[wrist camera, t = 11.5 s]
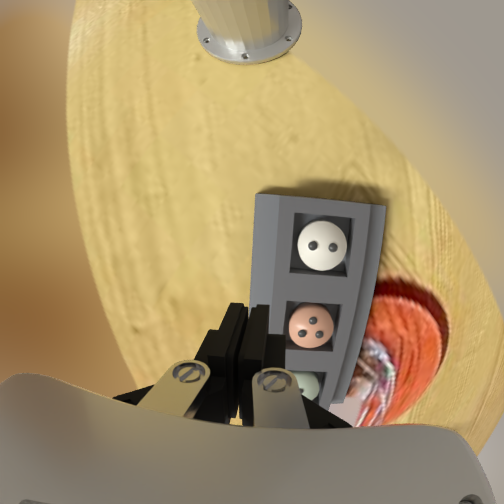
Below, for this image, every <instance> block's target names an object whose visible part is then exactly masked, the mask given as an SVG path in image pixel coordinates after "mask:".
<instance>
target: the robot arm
mask: <svg viewBox="0 0 504 504" xmlns="http://www.w3.org/2000/svg"><path fill="white" fill-rule="evenodd" d="M191 1H192V3H193V5H194V6H195V8H196V10H197V12H198V13H199V15H200V19H199V21H198V25H197V35H198V39H199V41H200V43H201V45H202V46H203V48H204V49H205V50H206V51H207V52H208V53H209V54H210V55H211V56H213V57H215V58H217V59H219V60H221V61H224V62H227V63H232V64H238V65H251V64H259V63H263V62H267V61H271V60H273V59H275V58H278V57H280V56H281V55H283V54H285V53H286V52H288V51H289V50H290V49H291V48H292V47H293V46H294V45H295V43H296V42H297V41H298V39H299V37H300V34H301V29H302V20H301V16H300V13H299V11H298V10H297V8H296V7H295V6H294V5H293V4H292V3H291V2H290V1H289V0H191ZM245 58H247V59H245ZM269 312H270V305H265V304H257V306H256V307H252V308H251V312H250V316H249V319H248V307H244V304H243V303H230V305H229V307H228V309H227V312H226V314H225V316H224V318H223V321H222V323H221V325H220V327H219V330H212V329H210V330H209V331H208V333H207V335H206V337H205V339H204V341H203V343H202V345H201V346H200V348H199V350H198V352H197V354H196V356H195V358H194V360H184V361H180V362H177V363H175V364H174V365H172V366H171V367H170V368H169V369H168V370H167V372H166V373H165V374H164V375H163V376H162V377H161V378H160V380H159V381H158V382H157V383H156V384H155V385H152V386H148V387H145V388H142V389H139V390H135V391H132V392H129V393H125V394H122V395H118V396H116V397H113V398H108V397H106V396H103V395H100V394H97V393H94V392H91V391H88V390H86V389H83V388H81V387H78V386H75V385H72V384H69V383H66V382H64V381H62V380H59V379H56V378H52V377H49V376H44V375H40V374H32V373H22V374H15V375H13V376H11V377H9V378H8V379H6V380H5V381H3V382H2V383H1V384H0V504H496V500H495V497H494V495H493V492H492V489H491V486H490V484H489V481H488V479H487V477H486V474H485V473H484V470H483V468H482V466H481V464H480V462H479V460H478V458H477V456H476V455H475V453H474V451H473V450H472V448H471V447H470V445H469V444H468V443H467V441H466V440H465V439H464V438H463V437H462V436H461V435H460V434H459V433H457V432H456V431H454V430H452V429H450V428H446V427H442V426H438V425H429V424H390V425H380V426H367V427H363V426H361V427H352V426H351V425H350V424H349V423H347V422H345V421H344V420H342V419H340V418H339V417H337V416H335V415H334V414H332V413H331V412H329V411H327V410H326V409H324V408H322V407H321V406H319V405H318V404H316V403H315V402H313V401H311V400H310V399H308V398H307V397H305V396H304V395H302V394H301V393H300V389H299V385H298V382H297V379H296V377H295V375H294V374H293V373H291V372H290V371H288V370H286V369H285V355H286V334H269ZM238 406H239V417H240V419H242V425H243V426H240V425H231V424H229V423H230V419H231V418H236V415H237V410H238Z"/></svg>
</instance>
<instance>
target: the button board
mask: <svg viewBox="0 0 504 504" xmlns="http://www.w3.org/2000/svg"><path fill="white" fill-rule="evenodd" d="M385 213H386V206H383V205H376V204H368V203H360V202H352V201H343V200H333V199H323V198H313V197H301V196H289V195H275V194H259V193H256V194H255V213H254V231H253V249H252V268H251V286H250V304H249V316H250V312H251V308H252V307H256V306H257V304H265V305H270V312H269V334H286V355H285V369H286V370H295V371H314V372H315V373H316V374H317V376H318V382H319V393H318V395H317V396H316V397H315V398H314V399H313V400H311V401H313V402H315V403H316V404H318V405H319V406H321V407H322V408H324V409H326V410H327V411H328V410H329V407H330V404H331V403H332V404H337V403H343V402H344V399H345V396H346V393H347V390H348V387H349V384H350V381H351V378H352V375H353V372H354V368H355V365H356V362H357V358H358V355H359V351H360V348H361V344H362V340H363V336H364V333H365V329H366V324H367V320H368V316H369V312H370V307H371V303H372V298H373V293H374V288H375V283H376V277H377V272H378V266H379V260H380V253H381V246H382V239H383V231H384V223H385ZM319 219H323V220H327V221H330V222H332V223H333V224H335V225H336V226H337V227H339V228H340V229H341V230H342V232H343V233H344V235H345V238H346V242H347V249H346V253H345V256H344V258H343V259H342V261H341V262H340V263H339V264H338V265H337V266H335V267H334V268H332V269H329V270H323V271H321V270H315V269H312V268H310V267H309V266H307V265H306V264H305V263H304V262H303V260H302V259H301V257H300V255H299V251H298V246H297V240H298V235H299V233H300V231H301V229H302V228H303V227H304V226H305V225H306V224H307V223H309V222H311V221H313V220H319ZM305 302H312V303H320V304H322V305H324V306H325V307H326V308H327V309H328V310H329V312H330V315H331V318H332V321H333V325H334V328H333V333H332V335H331V337H330V338H329V340H328V341H327V342H325V343H324V344H322V345H321V346H318V347H314V348H305V347H302V346H299V345H297V344H296V343H295V342H294V341H293V340H292V339H291V337H290V333H289V318H290V315H291V313H292V311H293V310H294V309H295V308H296V307H297V306H298V305H300V304H302V303H305Z"/></svg>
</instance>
